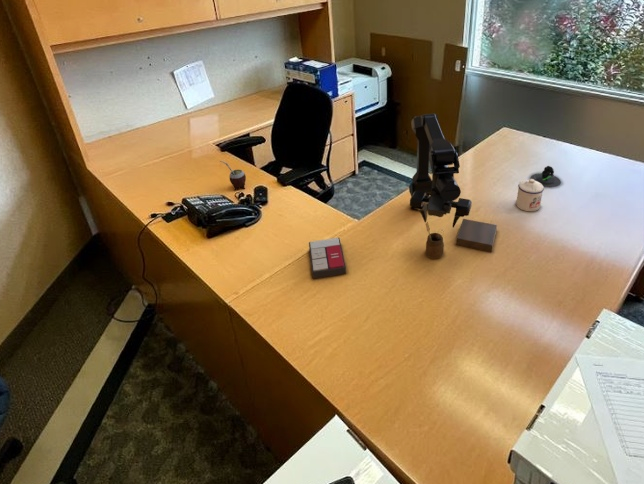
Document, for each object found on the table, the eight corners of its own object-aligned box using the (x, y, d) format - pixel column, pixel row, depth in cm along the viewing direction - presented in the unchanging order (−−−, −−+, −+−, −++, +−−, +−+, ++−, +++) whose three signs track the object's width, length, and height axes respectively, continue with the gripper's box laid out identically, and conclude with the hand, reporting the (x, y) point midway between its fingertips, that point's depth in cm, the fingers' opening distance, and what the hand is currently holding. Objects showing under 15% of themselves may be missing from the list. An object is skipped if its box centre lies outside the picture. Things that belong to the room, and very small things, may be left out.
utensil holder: (439, 261, 138) (441, 232, 132) (422, 255, 141) (422, 227, 135) (446, 251, 142) (447, 223, 136) (428, 245, 145) (429, 217, 139)
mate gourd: (250, 185, 189) (244, 156, 182) (238, 193, 184) (231, 164, 176) (239, 181, 193) (232, 153, 186) (226, 189, 187) (219, 160, 180)
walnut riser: (456, 244, 145) (456, 237, 143) (462, 225, 154) (463, 218, 153) (491, 252, 140) (492, 245, 139) (496, 231, 150) (497, 224, 148)
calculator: (311, 271, 132) (308, 240, 145) (313, 280, 135) (309, 249, 147) (345, 265, 134) (339, 235, 146) (346, 275, 136) (340, 244, 148)
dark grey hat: (565, 186, 172) (571, 161, 166) (536, 188, 173) (541, 162, 167) (553, 172, 182) (558, 148, 177) (526, 173, 183) (530, 149, 177)
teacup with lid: (531, 215, 157) (536, 188, 151) (510, 205, 163) (514, 179, 157) (549, 203, 163) (554, 177, 157) (528, 193, 169) (532, 169, 163)
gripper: (404, 192, 126) (404, 233, 133) (467, 202, 119) (463, 245, 127) (414, 174, 135) (414, 214, 142) (473, 183, 128) (469, 224, 135)
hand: (439, 224), depth 136 cm, fingers open, 9 cm apart
